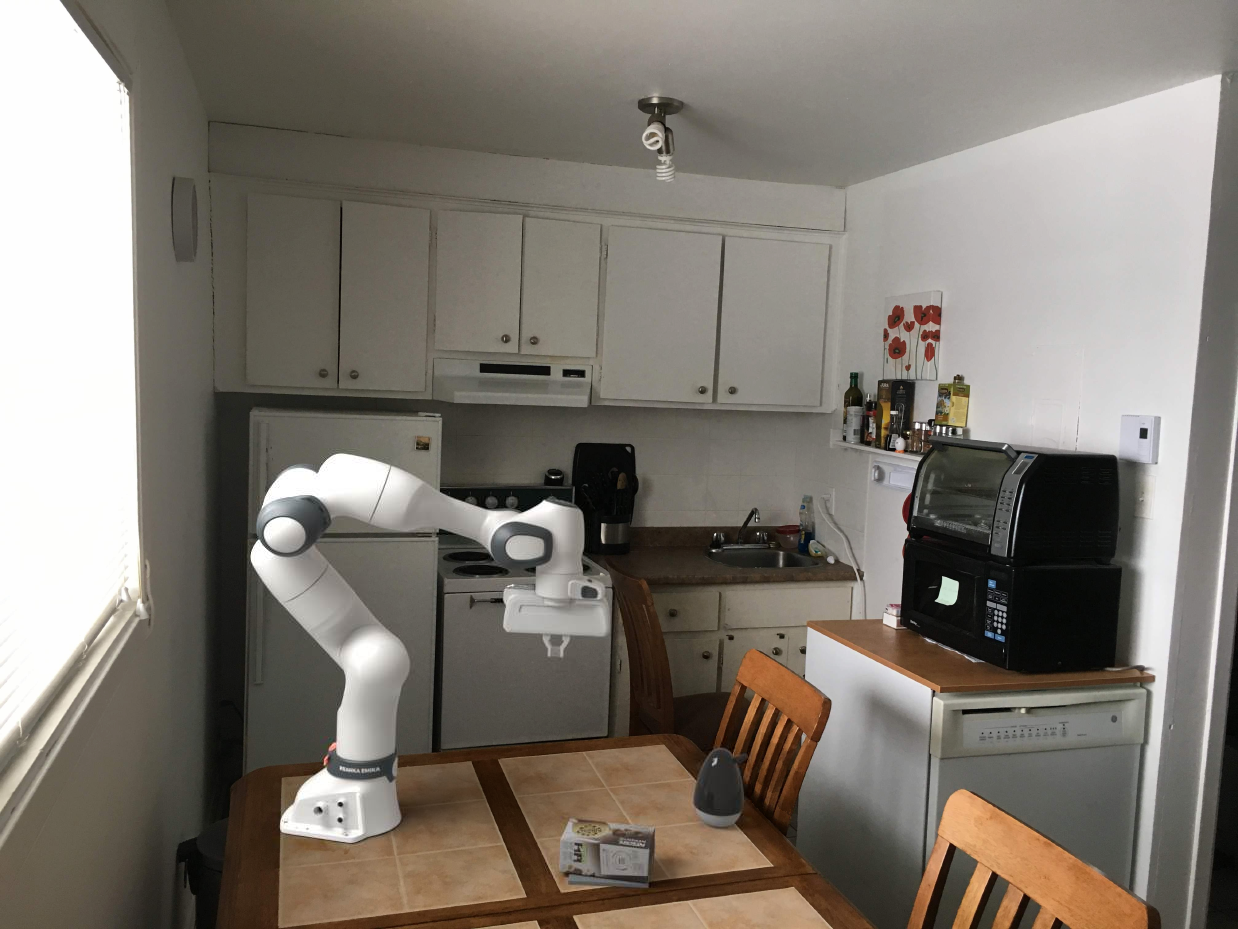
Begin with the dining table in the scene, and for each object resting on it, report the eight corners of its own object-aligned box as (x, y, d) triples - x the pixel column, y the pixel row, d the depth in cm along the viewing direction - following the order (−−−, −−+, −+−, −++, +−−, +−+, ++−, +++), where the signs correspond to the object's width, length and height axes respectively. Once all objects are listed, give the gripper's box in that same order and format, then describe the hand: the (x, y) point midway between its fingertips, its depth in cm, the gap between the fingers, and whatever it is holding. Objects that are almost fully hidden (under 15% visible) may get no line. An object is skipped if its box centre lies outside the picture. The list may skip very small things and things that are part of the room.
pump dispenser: (746, 834, 189) (751, 760, 188) (694, 832, 189) (698, 757, 187) (740, 811, 199) (744, 741, 198) (690, 809, 199) (694, 738, 198)
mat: (568, 884, 167) (568, 880, 167) (572, 845, 181) (572, 842, 181) (648, 888, 167) (648, 884, 167) (645, 849, 181) (646, 846, 181)
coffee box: (558, 873, 169) (648, 885, 166) (559, 838, 169) (650, 849, 166) (569, 850, 178) (654, 860, 175) (570, 816, 178) (656, 826, 175)
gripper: (501, 586, 177) (498, 658, 179) (611, 591, 178) (608, 664, 179) (505, 579, 184) (502, 649, 185) (612, 584, 184) (608, 654, 185)
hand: (555, 656), depth 182 cm, fingers closed
